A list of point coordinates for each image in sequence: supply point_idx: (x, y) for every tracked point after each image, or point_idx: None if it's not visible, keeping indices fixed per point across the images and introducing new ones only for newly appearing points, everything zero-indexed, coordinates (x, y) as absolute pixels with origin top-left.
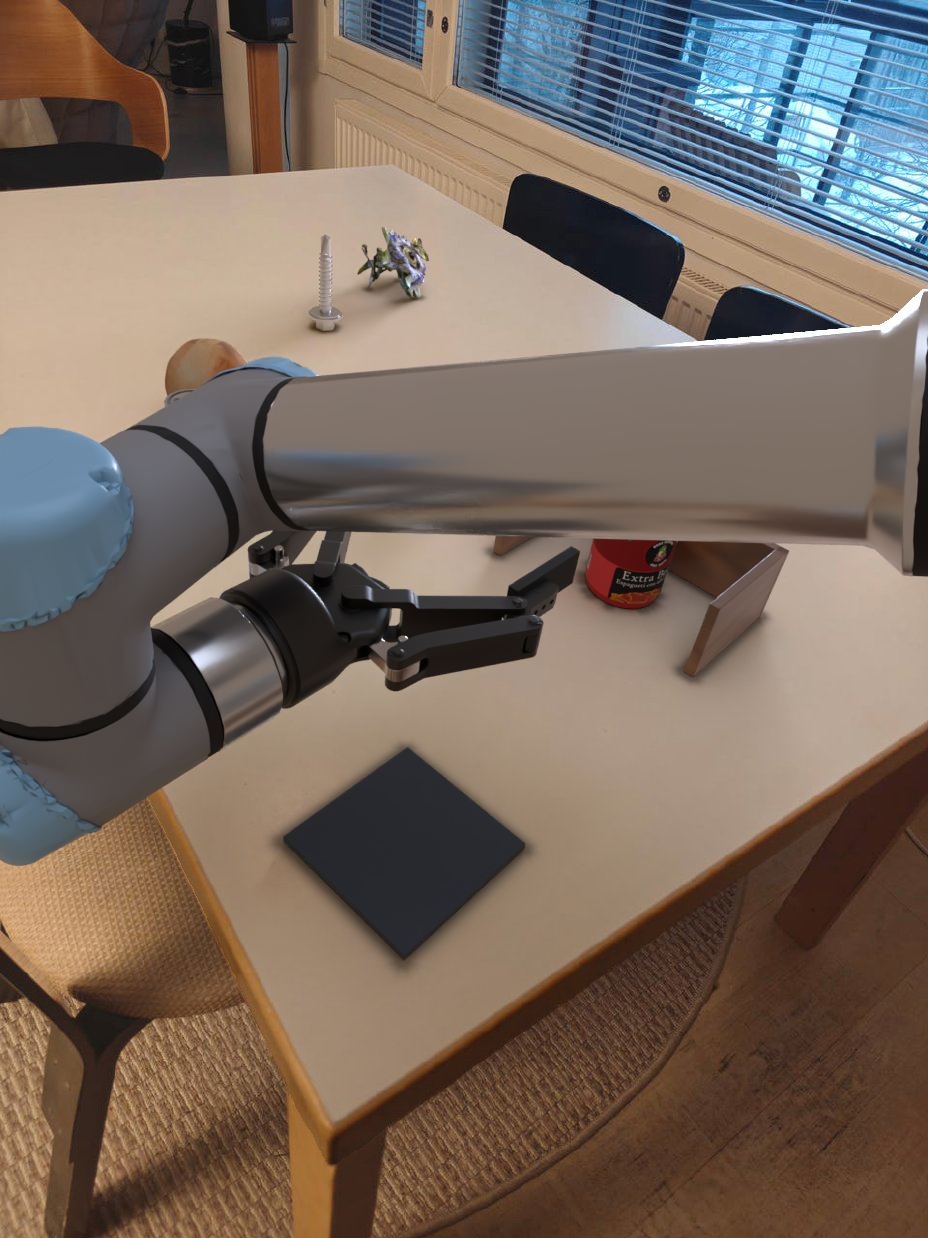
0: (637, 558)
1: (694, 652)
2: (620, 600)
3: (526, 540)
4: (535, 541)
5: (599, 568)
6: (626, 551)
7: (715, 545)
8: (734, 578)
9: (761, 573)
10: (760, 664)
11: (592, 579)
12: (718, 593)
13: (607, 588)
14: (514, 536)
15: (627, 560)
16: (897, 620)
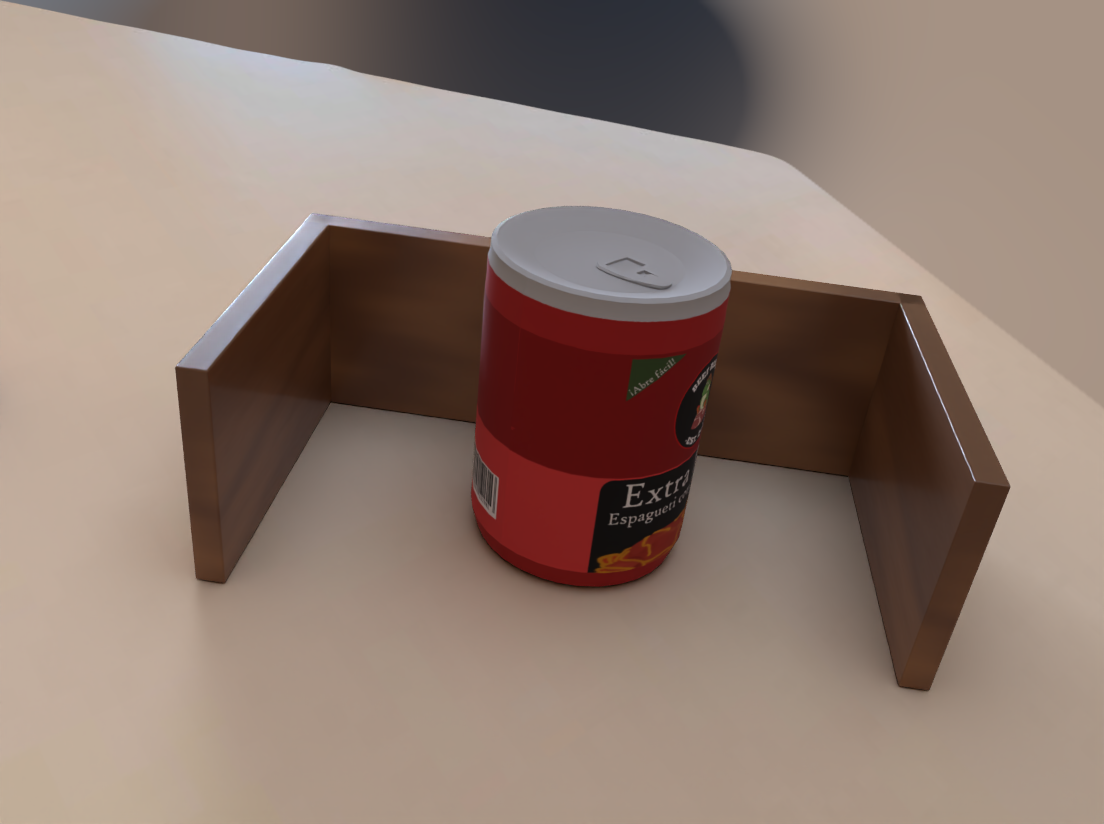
0: (658, 437)
1: (930, 627)
2: (625, 566)
3: (268, 507)
4: (293, 500)
5: (545, 505)
6: (627, 429)
7: (742, 345)
8: (804, 405)
9: (950, 361)
10: (985, 577)
11: (526, 541)
12: (769, 453)
13: (584, 549)
14: (243, 510)
15: (633, 453)
16: (1031, 379)
